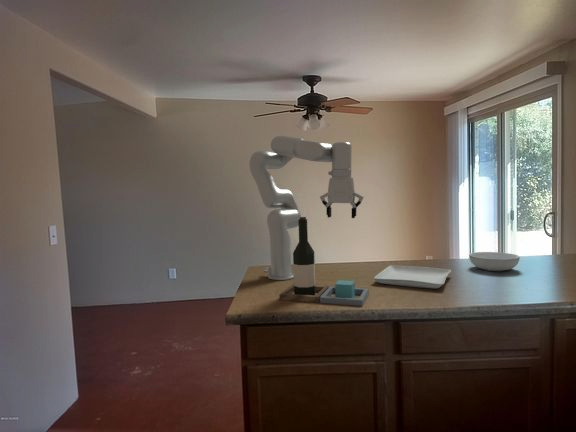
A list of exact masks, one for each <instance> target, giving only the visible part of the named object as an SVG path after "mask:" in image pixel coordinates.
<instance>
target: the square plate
mask: <svg viewBox="0 0 576 432" xmlns="http://www.w3.org/2000/svg"><path fill="white" fill-rule="evenodd" d="M451 272H452V269H450V268H449V269H448V268H437V267H429V266H416V265H414V266H413V265H388V266H387V267H386V268H384V269H383V270H382V271H380V272H378V273H377V274H376V275H375V276H374V277H372V278H373V280H374V281H375V282H377V283H379V284H383V285H392V286H399V287H401V286H402V287H411V288H419V289H439V288H440V287H442V286H443V285H444V284H445V282H446V279H447V277H448V275H449V274H450V273H451Z"/></svg>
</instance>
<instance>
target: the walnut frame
mask: <svg viewBox="0 0 576 432" xmlns="http://www.w3.org/2000/svg"><path fill="white" fill-rule="evenodd" d="M329 287H330V286H327V285H315V293H317V292H318V293H317V294H315V296H313V295H299V294H294V283H293V284H291V285H290V286H288V287H287V288H285V290H283V291H281V292H280V293H279V300H280V299H281V300H282V301H291V300H293V301H292V302H295V301H296V302H304V301H305V302H306V303H317V304H319V303H320V297H321V296H322V295H323V293H324V292H325V291H326V290H327V289H328V288H329ZM281 300H280V301H281Z"/></svg>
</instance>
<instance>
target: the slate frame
mask: <svg viewBox="0 0 576 432" xmlns="http://www.w3.org/2000/svg"><path fill="white" fill-rule="evenodd" d="M369 292H370V291H369V288H361V287H355V295H360V296H359V298H356V297H354V298H341V297H335V296H332V295H333V294H335V286H332V285H331V286H329V288H328V289H327V290H326V291H325V292H324V293H323V295H322V296H321V297H320V302H319V303H320V304H330V305H331V304H332V305H333V304H334V305H343V306H345V305H346V306H355V307H356V306H359V307H363V306H364V304H365V302H366V301H367V298H368V296H369V294H370V293H369Z"/></svg>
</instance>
